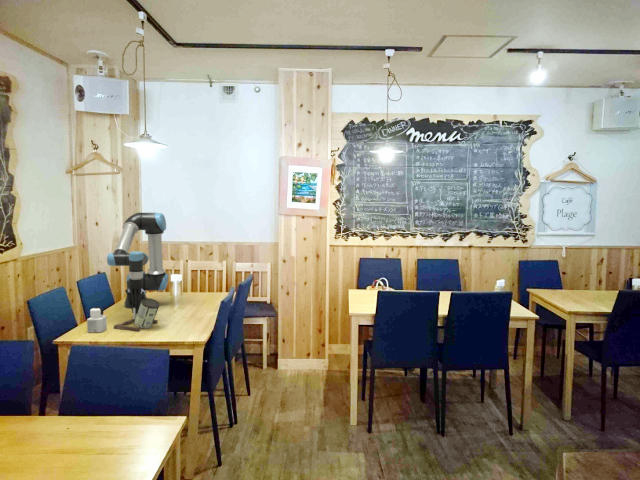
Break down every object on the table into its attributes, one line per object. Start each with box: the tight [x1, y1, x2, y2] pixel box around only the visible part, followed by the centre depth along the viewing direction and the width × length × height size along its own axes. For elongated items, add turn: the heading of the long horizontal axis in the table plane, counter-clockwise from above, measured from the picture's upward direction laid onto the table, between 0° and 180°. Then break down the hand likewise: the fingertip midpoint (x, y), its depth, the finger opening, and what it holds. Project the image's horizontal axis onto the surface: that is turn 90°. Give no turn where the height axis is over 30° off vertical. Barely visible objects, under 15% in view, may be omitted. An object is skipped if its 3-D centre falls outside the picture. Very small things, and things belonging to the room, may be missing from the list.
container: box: [86, 306, 108, 333], centre depth 253 cm, size 8×8×13 cm
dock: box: [113, 318, 159, 333], centre depth 265 cm, size 18×16×2 cm
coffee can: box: [133, 297, 161, 329], centre depth 261 cm, size 10×10×14 cm
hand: (135, 318), depth 263 cm, fingers closed
